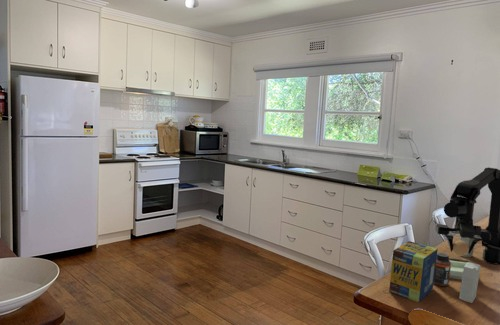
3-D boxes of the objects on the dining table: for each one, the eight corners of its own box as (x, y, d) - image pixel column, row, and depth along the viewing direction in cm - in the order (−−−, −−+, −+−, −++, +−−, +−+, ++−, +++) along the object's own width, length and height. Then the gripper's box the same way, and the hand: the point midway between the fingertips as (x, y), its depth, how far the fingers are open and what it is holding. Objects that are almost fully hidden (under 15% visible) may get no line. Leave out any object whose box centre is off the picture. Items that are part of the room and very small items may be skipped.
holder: (470, 261, 168) (470, 260, 167) (476, 270, 158) (477, 268, 158) (445, 258, 170) (445, 257, 170) (450, 266, 161) (450, 265, 161)
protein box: (388, 292, 134) (392, 250, 132) (404, 279, 146) (409, 240, 144) (418, 303, 127) (423, 258, 125) (433, 288, 139) (438, 248, 137)
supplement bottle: (450, 287, 140) (454, 258, 139) (433, 285, 141) (436, 256, 140) (445, 281, 146) (449, 252, 144) (429, 279, 147) (432, 250, 146)
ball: (465, 253, 155) (467, 239, 154) (470, 259, 149) (471, 244, 148) (449, 251, 156) (451, 237, 156) (453, 256, 151) (454, 242, 150)
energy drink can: (469, 258, 171) (473, 226, 169) (455, 254, 175) (459, 223, 174) (474, 256, 175) (478, 224, 173) (460, 252, 179) (464, 221, 178)
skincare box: (462, 293, 136) (466, 261, 134) (476, 297, 133) (481, 264, 132) (458, 299, 131) (462, 265, 130) (473, 304, 128) (477, 269, 127)
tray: (469, 270, 158) (470, 263, 157) (478, 282, 146) (479, 274, 146) (438, 265, 161) (438, 259, 161) (444, 277, 149) (445, 269, 149)
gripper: (443, 217, 145) (438, 256, 147) (498, 222, 140) (493, 263, 142) (437, 210, 156) (433, 246, 158) (488, 215, 151) (483, 253, 153)
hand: (459, 252), depth 153 cm, fingers closed on ball, 6 cm apart
